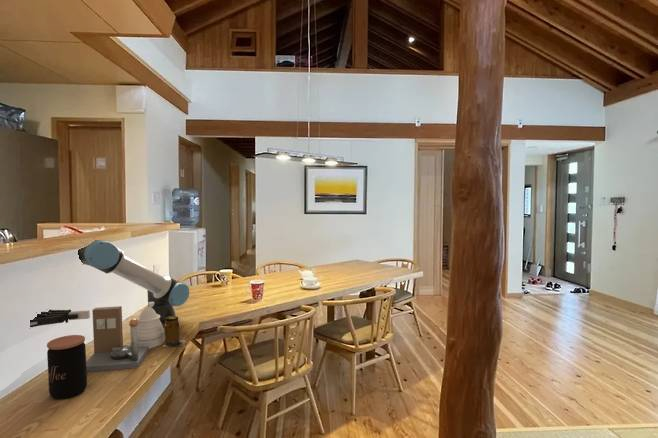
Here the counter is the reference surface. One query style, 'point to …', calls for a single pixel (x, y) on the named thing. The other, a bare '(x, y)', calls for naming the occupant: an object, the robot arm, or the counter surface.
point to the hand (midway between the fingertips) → (88, 314)
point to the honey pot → (149, 328)
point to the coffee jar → (67, 366)
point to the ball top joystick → (128, 350)
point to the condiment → (172, 332)
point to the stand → (110, 341)
